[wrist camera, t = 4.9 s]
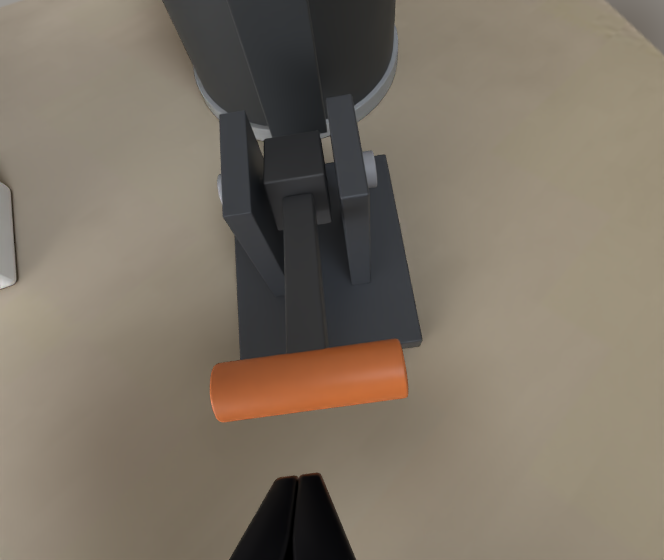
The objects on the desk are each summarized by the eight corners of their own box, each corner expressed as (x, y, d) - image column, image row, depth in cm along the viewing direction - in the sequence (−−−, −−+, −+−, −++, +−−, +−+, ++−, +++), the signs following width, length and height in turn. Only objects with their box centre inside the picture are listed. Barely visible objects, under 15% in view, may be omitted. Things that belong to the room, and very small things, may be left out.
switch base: (420, 346, 22) (452, 277, 13) (247, 370, 23) (162, 319, 14) (385, 166, 26) (391, 19, 17) (238, 189, 27) (167, 57, 18)
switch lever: (408, 412, 12) (409, 373, 10) (230, 436, 12) (199, 401, 10) (359, 173, 19) (355, 123, 17) (245, 191, 19) (228, 143, 17)
